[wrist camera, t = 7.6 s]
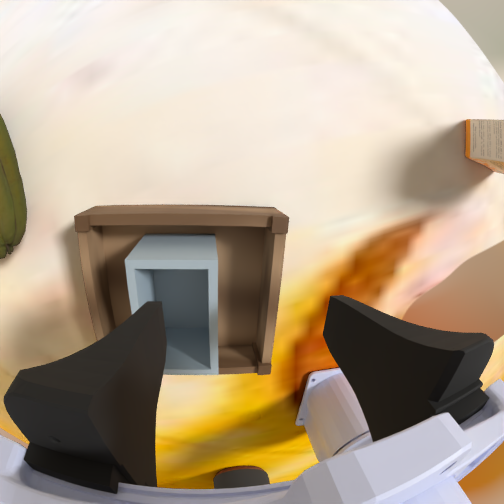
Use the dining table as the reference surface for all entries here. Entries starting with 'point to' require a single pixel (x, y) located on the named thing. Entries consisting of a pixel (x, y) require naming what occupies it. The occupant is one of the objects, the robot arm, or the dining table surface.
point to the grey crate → (180, 296)
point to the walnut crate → (229, 270)
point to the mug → (240, 477)
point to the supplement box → (486, 143)
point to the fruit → (10, 196)
